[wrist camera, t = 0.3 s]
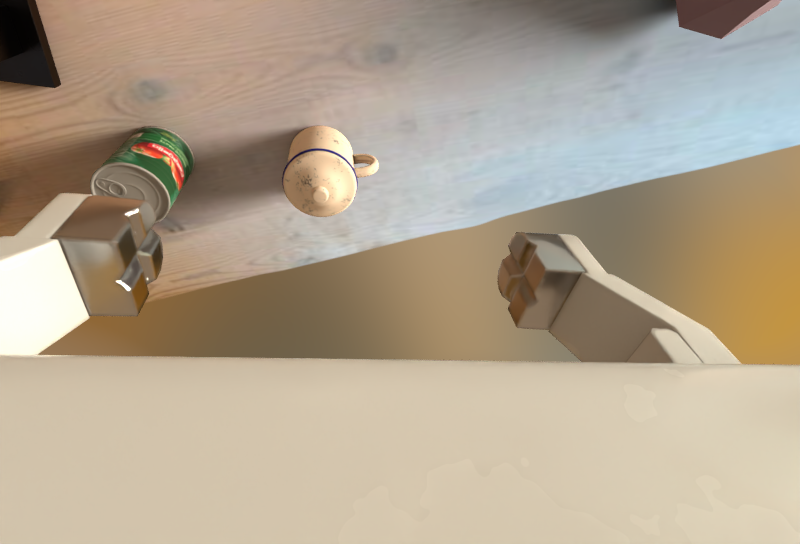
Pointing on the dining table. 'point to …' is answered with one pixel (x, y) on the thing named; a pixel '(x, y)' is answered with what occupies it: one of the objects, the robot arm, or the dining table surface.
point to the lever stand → (25, 46)
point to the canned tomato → (146, 169)
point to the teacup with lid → (323, 171)
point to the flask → (720, 14)
